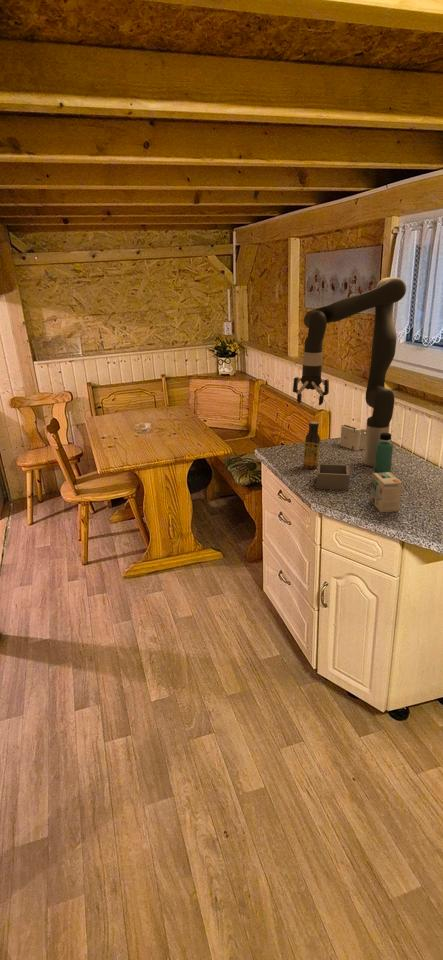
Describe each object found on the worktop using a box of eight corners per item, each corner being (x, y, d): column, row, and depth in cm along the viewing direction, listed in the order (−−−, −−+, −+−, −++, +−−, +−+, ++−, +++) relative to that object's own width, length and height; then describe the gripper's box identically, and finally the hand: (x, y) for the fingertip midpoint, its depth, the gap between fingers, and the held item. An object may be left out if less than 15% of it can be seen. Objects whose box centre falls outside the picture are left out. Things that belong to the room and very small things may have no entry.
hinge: (368, 449, 240) (370, 429, 237) (362, 452, 237) (363, 431, 233) (343, 444, 250) (344, 424, 246) (336, 446, 246) (337, 426, 243)
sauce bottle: (301, 468, 218) (303, 423, 211) (305, 464, 224) (306, 420, 217) (316, 470, 216) (319, 424, 209) (319, 465, 221) (322, 421, 214)
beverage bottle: (390, 480, 204) (395, 431, 196) (389, 486, 198) (394, 436, 191) (373, 478, 206) (377, 430, 198) (372, 484, 200) (376, 435, 193)
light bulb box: (369, 500, 186) (372, 472, 182) (387, 499, 186) (390, 471, 182) (380, 512, 176) (383, 483, 172) (399, 511, 176) (402, 482, 172)
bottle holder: (347, 478, 206) (348, 464, 204) (348, 489, 195) (349, 475, 193) (317, 477, 208) (317, 463, 206) (316, 488, 197) (317, 473, 195)
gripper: (332, 363, 203) (329, 403, 209) (297, 361, 208) (295, 400, 214) (327, 366, 196) (324, 407, 202) (292, 363, 202) (290, 404, 208)
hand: (309, 403), depth 208 cm, fingers open, 8 cm apart
